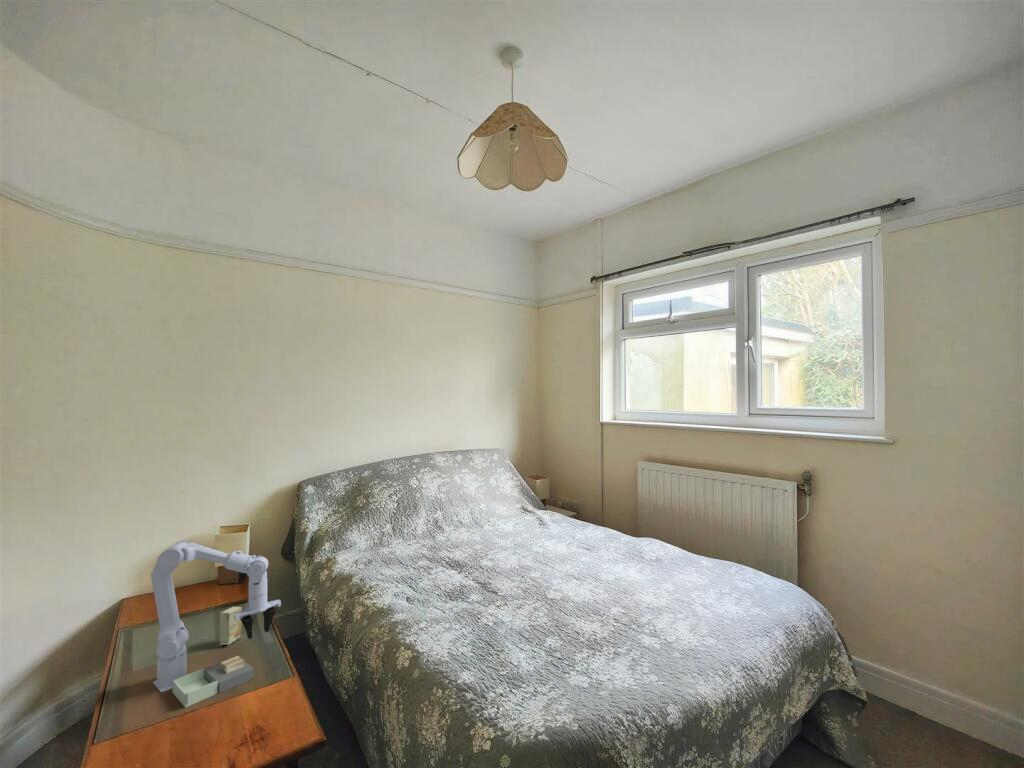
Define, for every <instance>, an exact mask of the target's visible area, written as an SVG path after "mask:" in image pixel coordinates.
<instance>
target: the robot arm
mask: <svg viewBox="0 0 1024 768" xmlns="http://www.w3.org/2000/svg"><path fill="white" fill-rule="evenodd" d="M194 560H202V561H208V562H213V563H218V564H222V565H223V567H224V568H225V569H226V570H229V571H233V572H238V573H243V574H246V575H247V577H248V607H247V608H245V609H243V610H242V611H240V612H238V613H235V614H234V620H235V621H238V620H239V619H240V620H241V624H242V626H243V627H244V629H245V632H246V636H247V638H248V639H249V640H251V639H253V623H254V622H253V621H254V619H253V618H252V616H254V615H257V614H259V613H263V630H264V632H266V633H268V632H269V631H270V628H271V624H272V621H273V618H274V616H275V615H276V612H277V609H276V608H277V607H278V608H280V607H281V606H282V600H281V599H276V600H275V599H274V600H271V601H270V600H269V601H268V571H267V569H268V568H269V560H268V558H266V557H265V556H263V555H256V554H253V555H251V554H250V555H249V554H246V553H243V551H242V550H237V551H232V552H230V553H226V552H223V551H221V550H218V549H214V548H212V547H208V546H204V545H201V544H199V543H197V542H189V541H187V540H186V541H185V540H180V541H178V542H176V543H174V544H173V545H172V546H170V547H167V548H166V549H165V550H164V551H162V552H161V553H160V554H159V555H158V556H157V558H156V562H155V565H154V566H153V569H152V571H151V574H150V579H151V583H152V584H151V585H152V590H153V595H154V599H155V607H156V613H157V618H158V623H159V633H158V636H157V646H156V647H157V648H156V649H155V650H156V651H155V653H156V655H157V657H158V659H157V665H156V680H154V681H153V683H152V684H154V686H155V687H156V688H157V689H158V691H159V692H160V693H164V692H165V691H169V690H172V680H175V679H178V678H180V677H183V676H185V675H187V662H188V661H187V658H188V655H187V651H188V649H187V646H186V644H187V642H189V641H188V640H189V639H190V634H189V633H190V632H189V631H188V629H186V627H185V624H184V622H183V621H182V620H181V618H180V613H179V608H178V602H177V597H176V591H175V584H174V581H173V573H174V571H175V570H176V569H177V568H178V567H179V566H180V564H181V563H182V562H184V563H188V562H192V561H194ZM269 633H270V632H269Z"/></svg>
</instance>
